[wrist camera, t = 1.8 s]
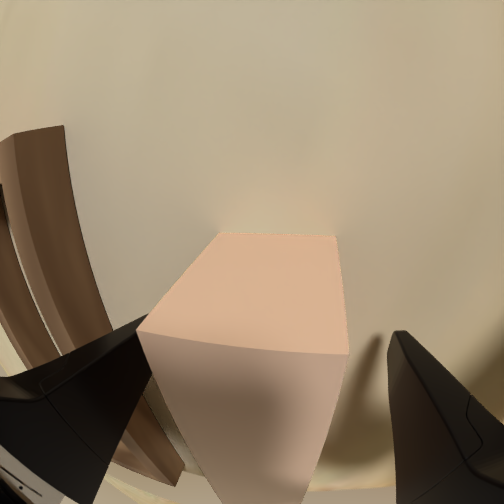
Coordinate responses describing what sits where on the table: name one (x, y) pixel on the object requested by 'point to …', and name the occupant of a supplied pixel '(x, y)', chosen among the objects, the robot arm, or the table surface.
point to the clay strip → (253, 360)
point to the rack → (60, 282)
